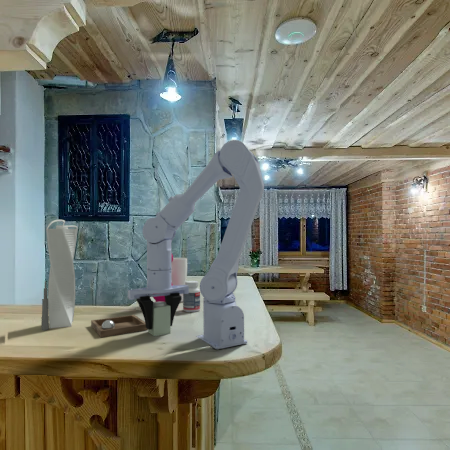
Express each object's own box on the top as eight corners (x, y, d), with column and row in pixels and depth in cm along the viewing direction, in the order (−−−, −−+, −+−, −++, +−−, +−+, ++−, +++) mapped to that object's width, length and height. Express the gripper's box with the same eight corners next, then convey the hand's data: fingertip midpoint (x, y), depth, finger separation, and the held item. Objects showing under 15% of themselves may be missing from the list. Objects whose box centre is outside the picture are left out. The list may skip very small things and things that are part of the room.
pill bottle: (197, 312, 104) (197, 283, 105) (180, 311, 105) (180, 282, 106) (202, 308, 110) (202, 280, 110) (186, 308, 111) (186, 280, 111)
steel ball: (116, 333, 81) (116, 320, 81) (103, 335, 79) (103, 322, 80) (113, 330, 84) (113, 318, 84) (100, 332, 82) (100, 319, 82)
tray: (148, 332, 84) (148, 324, 84) (100, 339, 78) (101, 331, 78) (134, 322, 93) (134, 314, 93) (91, 328, 88) (91, 320, 88)
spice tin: (170, 336, 81) (170, 303, 81) (154, 338, 79) (154, 305, 79) (163, 331, 85) (164, 300, 85) (148, 334, 83) (148, 302, 83)
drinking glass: (191, 300, 122) (191, 258, 123) (178, 304, 117) (178, 259, 117) (176, 298, 126) (176, 257, 126) (163, 301, 120) (163, 258, 121)
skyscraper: (43, 326, 91) (44, 219, 92) (77, 322, 94) (77, 219, 95) (40, 334, 83) (41, 218, 84) (77, 330, 87) (77, 218, 87)
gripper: (180, 266, 89) (180, 319, 89) (123, 269, 82) (123, 327, 81) (192, 268, 83) (192, 325, 83) (132, 272, 76) (132, 335, 75)
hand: (159, 326), depth 82 cm, fingers open, 4 cm apart
